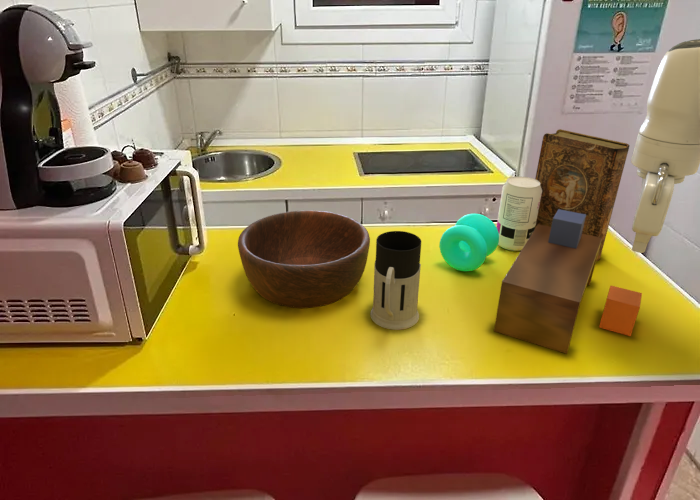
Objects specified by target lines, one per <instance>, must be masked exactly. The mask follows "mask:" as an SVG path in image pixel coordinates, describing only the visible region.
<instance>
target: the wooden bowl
mask: <svg viewBox="0 0 700 500" xmlns="http://www.w3.org/2000/svg"><path fill="white" fill-rule="evenodd" d="M370 244H371V237H370V234H369V232H368V230H367V228H366V227H365V226H364V225H363V224H362V223H360V222H359V221H357V220H356V219H354V218H352V217H349V216H346V215H344V214H340V213H337V212H336V213H335V212H331V211H324V210H293V211H292V210H291V211H284V212H279V213H275V214H271V215H268V216H265V217H263V218H259V219H257V220H256V221H254V222H252V223H251V224H249V225H247V226H246V227H245V228H244V229H243V230H242V232H241V233H239V236H238V239H237V249H238V254H239V257H240V261H241V266H242V268H243V271H244V274H245V275H246V278H247V280H248V282H249V284H250V285H251V286H252V288H253V290H255V292H256V293H258V294H259V295H260V296H261V297H262V298H264V299H265V300H267V301H269V302H270V303H272V304H275V305H278V306H282V307H285V308H294V309H312V308H320V307H323V306H327V305H331V304H334V303H336V302H339V301H340V300H342V299H343V298H345V297H347V296H348V295H349V294H351V293H352V292H353V291H354V289H355V288H356V287H357V285H358V284H359V283H360V281H361V279H362V277H363V274H364V272H365V269H366V266H367V261H368V257H369V252H370V246H371V245H370Z"/></svg>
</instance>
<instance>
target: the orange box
mask: <svg viewBox="0 0 700 500" xmlns="http://www.w3.org/2000/svg"><path fill="white" fill-rule="evenodd" d="M642 297H643V293H642V292H639V291H636V290H631V289H627V288H624V287H619V286H615V285H610V286H609V289H608V292H607V297H606V300H605V304H604V306H603V311H602V313H601V318H600V322H599V326H598V328H600V329H603V330H606V331H609V332H614V333H617V334H621V335H625V336H628V337H631V336H632V333H633V330H634V327H635V324H636V321H637V317H638V315H639V311H640V308H641V303H642Z"/></svg>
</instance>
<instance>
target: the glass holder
mask: <svg viewBox="0 0 700 500" xmlns="http://www.w3.org/2000/svg"><path fill="white" fill-rule="evenodd" d="M421 253H422V239H421V238H420V237H419V236H418V235H417V234H415V233H412V232H408V231H403V230H390V231H385V232H383V233H380V234H379V235H378V236H377V237H376V241H375V260H374V268H373V270H374V271H373V296H372V297H373V299H372V301H373V303H372V308H371V310H370V314H369V315H370V318H371V320H372V321H373V323H374V324H375V325H378V326H379V327H381V328H384V329H388V330H394V331H395V330H396V331H397V330H399V331H400V330H406V329H409V328H412V327H413V326H415V325H416V324H417V323H418V322H419V319H420V313H419V310H418V303H419V291H420V278H421V277H420V276H421V265H422V264H421Z"/></svg>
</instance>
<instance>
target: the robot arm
mask: <svg viewBox="0 0 700 500" xmlns="http://www.w3.org/2000/svg"><path fill="white" fill-rule="evenodd" d="M639 127H640V128H639V130H638V134H637V137H636V140H635V144H634V148H633V152H632V155H631V158H630V163H631V164H632V165H633V167H636V168H637V170H636V176H638V177H639V178H641V184H640V192H639V196H638V200H637V203H636V208H635V212H634V217H633V221H632V226H631V230H632V232H633V233H635V236H634V239H633V244H632V247H631V250H632V251H633V252H635V253H639V254H644V253H645V252H646V250H647V246H648V244H649V242H650V240H651V238H652V237H658V236H659V235H660V233H661V232H662V229H663V226H664V223H665V220H666V217H667V214H668V211H669V207H670V204H671V201H672V198H673V194H674V189H675V188H674V187H675V185H677V184H681V183H683V182H684V181H685V177H688V176H692V175H695V174H697V172H698V170H699V167H700V38H698V39H697V38H696V39H691V40H687V41H682V42H679V43H678V44H676V45H673V46H672V47H671V48H670V49H668V50H667V51H666V52H665V54H664V55H663V56H662V59H661V61H660V64H659V65H658V68H657V70H656V73H655V75H654V78H653V81H652V84H651V87H650V91H649V94H648V96H647V101H646V115H645V118H644V121H643V123H642V124H641V126H639Z"/></svg>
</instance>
